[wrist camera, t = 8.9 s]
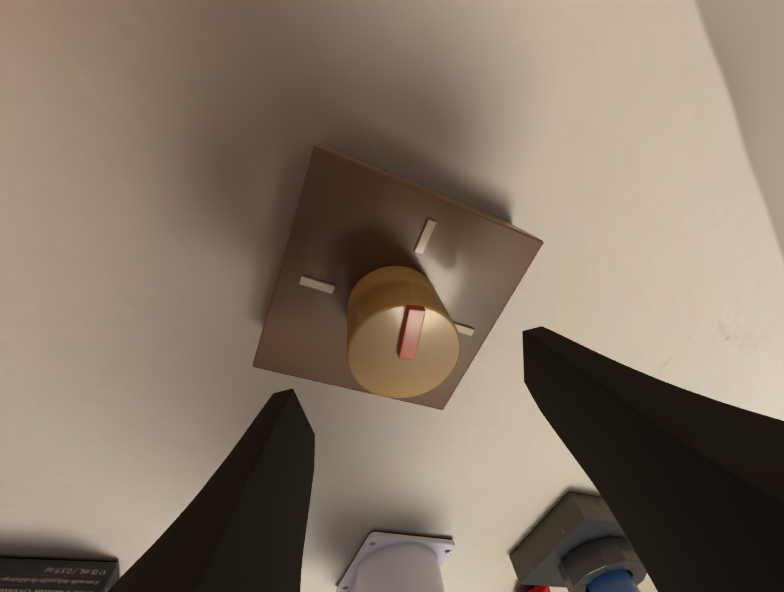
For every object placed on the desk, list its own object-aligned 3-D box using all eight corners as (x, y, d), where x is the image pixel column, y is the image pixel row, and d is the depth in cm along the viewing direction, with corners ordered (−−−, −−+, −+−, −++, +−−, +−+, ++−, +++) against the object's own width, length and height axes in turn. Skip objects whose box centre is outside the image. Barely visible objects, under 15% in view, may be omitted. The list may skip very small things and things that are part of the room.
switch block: (587, 564, 34) (615, 614, 30) (509, 556, 31) (529, 610, 28) (652, 505, 30) (692, 555, 27) (568, 491, 28) (601, 544, 24)
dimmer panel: (430, 374, 20) (444, 413, 17) (266, 332, 18) (250, 369, 15) (513, 224, 16) (547, 243, 14) (320, 142, 14) (313, 144, 11)
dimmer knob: (427, 348, 15) (449, 407, 12) (343, 342, 15) (340, 403, 11) (446, 270, 14) (477, 313, 10) (352, 259, 13) (353, 302, 10)
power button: (608, 589, 29) (623, 615, 27) (577, 587, 28) (590, 614, 26) (634, 567, 27) (652, 593, 26) (603, 564, 26) (619, 591, 25)
